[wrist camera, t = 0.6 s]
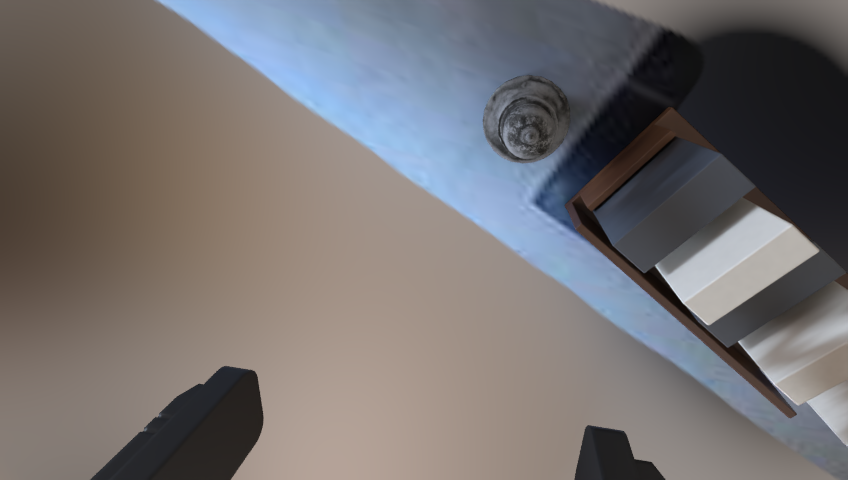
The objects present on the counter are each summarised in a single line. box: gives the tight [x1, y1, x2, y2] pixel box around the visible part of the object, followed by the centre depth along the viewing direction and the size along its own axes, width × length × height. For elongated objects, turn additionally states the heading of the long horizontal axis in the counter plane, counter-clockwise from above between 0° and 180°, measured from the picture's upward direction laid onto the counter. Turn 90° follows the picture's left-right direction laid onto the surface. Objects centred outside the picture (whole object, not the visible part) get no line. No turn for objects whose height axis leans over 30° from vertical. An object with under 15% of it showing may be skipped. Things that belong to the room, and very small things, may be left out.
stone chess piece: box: [483, 75, 570, 163], centre depth 27 cm, size 6×6×12 cm
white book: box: [655, 198, 819, 325], centre depth 26 cm, size 6×2×12 cm, turn 141°
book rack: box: [565, 107, 848, 447], centre depth 27 cm, size 10×22×13 cm, turn 51°
